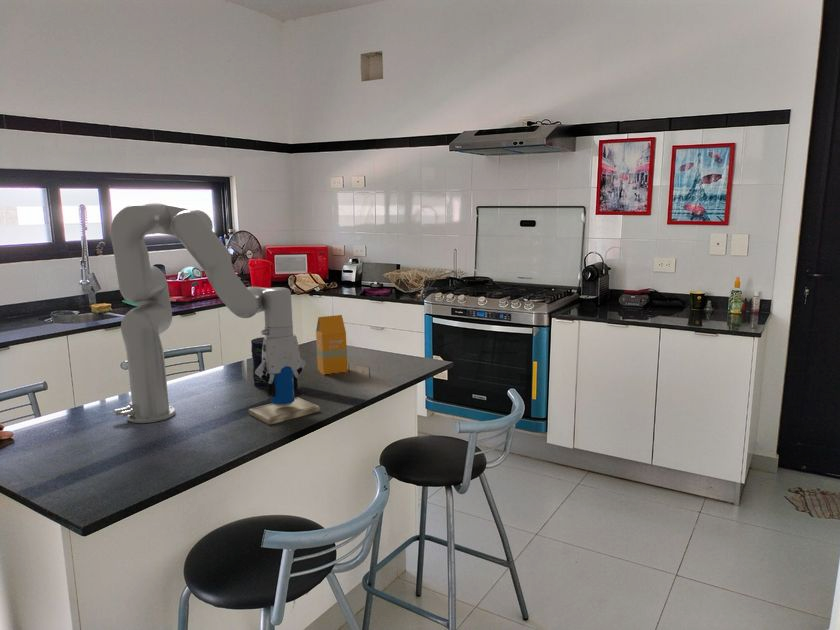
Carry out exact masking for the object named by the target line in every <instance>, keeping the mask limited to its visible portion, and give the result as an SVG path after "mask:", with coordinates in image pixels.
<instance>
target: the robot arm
mask: <svg viewBox="0 0 840 630" xmlns="http://www.w3.org/2000/svg"><path fill="white" fill-rule="evenodd" d="M213 228H214V227H213V221H212V219H211V218H210V216H209V215H208V213H206V212H204V211H202V210H199V209H193V208H187V207H183V206H177V205H176V206H175V205H170V204H165V203H161V202H138V203H132V204H130V205H128V206H126V207H123V208H122V209H121V210H120V211H118V213H117V214H116V215H115V216H114V217H113V220H112V222H111V226H110V238H111V239H110V240H111V244H112V245H111V246H112V249H113V255H114V262H115V269H116V275H117V283H118V288H119V292H120V294H121V297H122V298H124V299H125V301H128V302H130V303H136V306H137V307H136V306H135V307H134V308H131V309H130V310H129V311H128V312H127V313H125V315H124V316H123V318H122V319H121V323H120V331H121V336H122V339H123V342H124V346H125V352H126V361H127V366H128V377H129V386H130V387H129V389H130V396H131V397H130V399H131V401H130V402H128V405H126V406H125V407H120V408H116V409H114V410H113V414H114V416H115V417H119V416H122V417H123V418H124V417H126V416H127V417H126V418H127V421H129V422H130V423H134V424H150V423H151V424H152V423H157V422H160V421H164V420H167V419H169V418H171V417H173V416H175V414H176V408H175V407H173V406H171V405H170V404H169V403H170V402H169V393H168V392H169V391H168V382H167V373H166V361H165V354H164V353H165V352H164V348H163V344H162V341H161V338H160V336H161V334H163V333H164V332H166V331H167V330H168V329H170V326H171V324H172V321H173V310H172V305H171V297H170V290H169V285H168V280H167V278H166V275H165V273H164V272H163V271H162V270H161V269H160V268H159V267H157V266H155V265H152V264H151V262H150V256H149V250H148V247H147V245H146V242H145V237H146V236H147V235H155V234H161V235H167V236H171V237H172V236H173V237H176V238H177V240H178V241H179V242H180V243H181V245H183V247H184V248H185V249H186V250H187V251H188V253H189V254H190V255H191V256H192V257H193V259H194V260H195V262H196V263H198V266H200V267H201V268H202V270H203V271H204V273H205V276H206V278H207V280H208V281H209V284H210V285H211V287H212V289H213V291H214V292H215V293H216V296H217V297H218V298H219V299H220V301H221V302H223V304H224V305H225V306H226V307H227V308H228V310H229V311H230V312H231V313H232V314H234V315H235V316H236V317H238V318H241V319H249V318H251V317H252V318H253V316H255V315H256V314H258V313H261V312H263V313H264V329H262V330H261V331H260V332H261V335H262V336H264V337H265V338H264V340H263V347H262V363H261V364H260V365H259V367H258V368H257V369H256V370H255V373H256V374H257V375H258V376H259V377H260V378H261V379H263V380H264V381H265V382H266V388H265V390H266V394H267V396H269V397H275V384H274V383H273V379H274V374H279V373H281V369H282V368H283V367H285V366H284V365H286V366H289V367H291V368H292V371H293V377H294V393H296V392H298V378H299V377H300V374H301V373H302V371H303V370H304V368H305V366H306V365H307V361H305V360H304V359H303V358H302V357H301V353H300V346H299V342H298V338H297V335H296V334H294V326H293V325H294V324H293V322H294V321H293V306H292V303H293V302H292V292H291V290H290V288H287V287H283V286H282V287H278V286H276V287H261V286H248V287H247V286H246V284H244V283H243V281H242V280H241V279H240V277H239V276H238V274H237V273H236V271H235V268H234V267H233V264H232V254H231V252H230V250H229V249H228V248H227V247H226V246H225V244H224V243H223V242H222V241H221V239H220V238H219V237H218V236H217V234H216V233H215V232H214V231H213ZM287 364H288V365H287ZM263 371H265V372H266V375H264V374H263Z"/></svg>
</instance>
